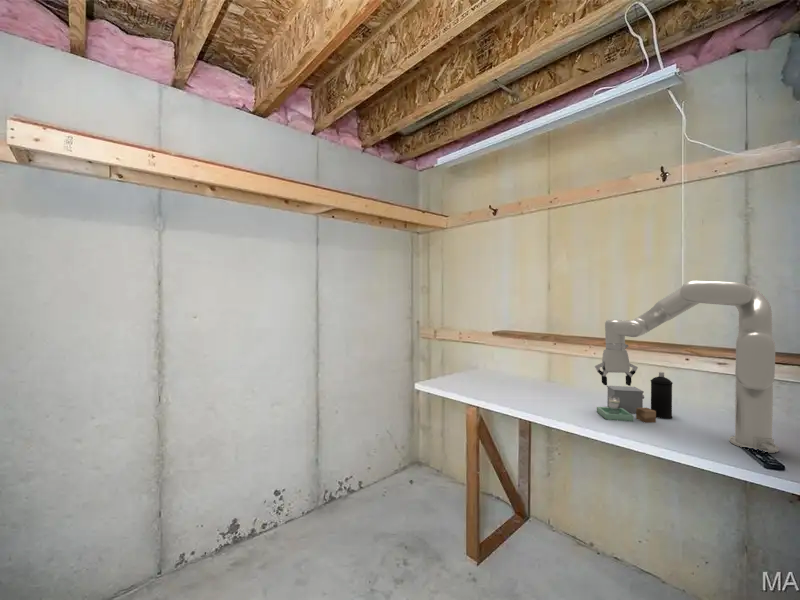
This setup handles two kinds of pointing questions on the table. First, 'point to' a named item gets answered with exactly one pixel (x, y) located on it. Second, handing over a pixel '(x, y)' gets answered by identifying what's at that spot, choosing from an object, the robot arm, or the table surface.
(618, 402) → the fuse
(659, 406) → the aerosol can
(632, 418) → the tray
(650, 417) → the walnut block
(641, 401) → the box
